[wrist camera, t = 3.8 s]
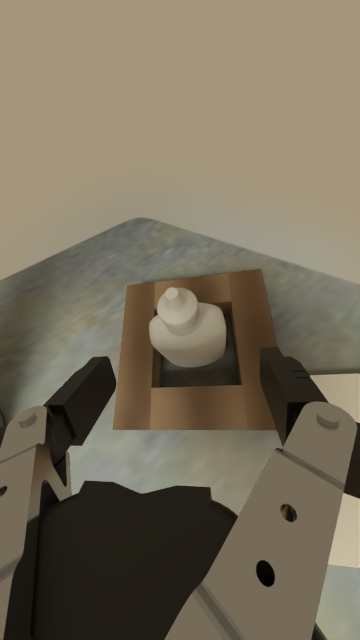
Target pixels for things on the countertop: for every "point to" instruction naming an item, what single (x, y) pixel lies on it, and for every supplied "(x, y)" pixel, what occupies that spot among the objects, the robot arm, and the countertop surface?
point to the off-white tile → (355, 514)
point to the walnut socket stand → (199, 401)
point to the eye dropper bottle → (187, 329)
